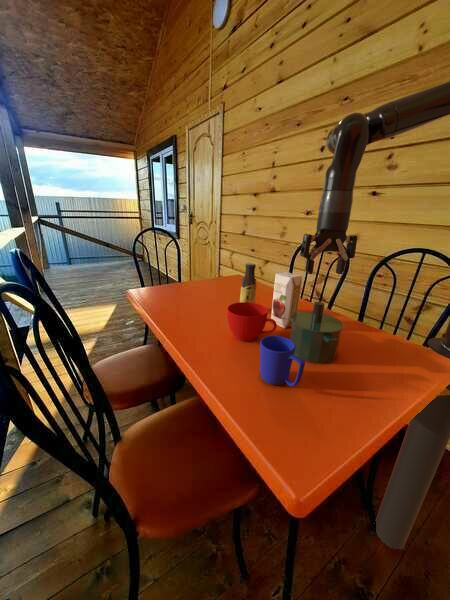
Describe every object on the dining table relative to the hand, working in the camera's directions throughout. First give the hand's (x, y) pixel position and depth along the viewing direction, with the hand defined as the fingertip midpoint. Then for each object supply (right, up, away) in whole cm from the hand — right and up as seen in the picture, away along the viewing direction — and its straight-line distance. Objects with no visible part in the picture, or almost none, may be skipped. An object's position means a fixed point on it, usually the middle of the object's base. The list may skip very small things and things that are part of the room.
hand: (324, 273), depth 69 cm
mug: (-14, -28, -7) cm, 32 cm away
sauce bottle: (-18, -12, +38) cm, 44 cm away
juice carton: (-5, -16, +26) cm, 32 cm away
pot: (-1, -23, +8) cm, 24 cm away
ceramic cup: (-19, -20, +14) cm, 31 cm away
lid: (0, -14, +5) cm, 15 cm away
